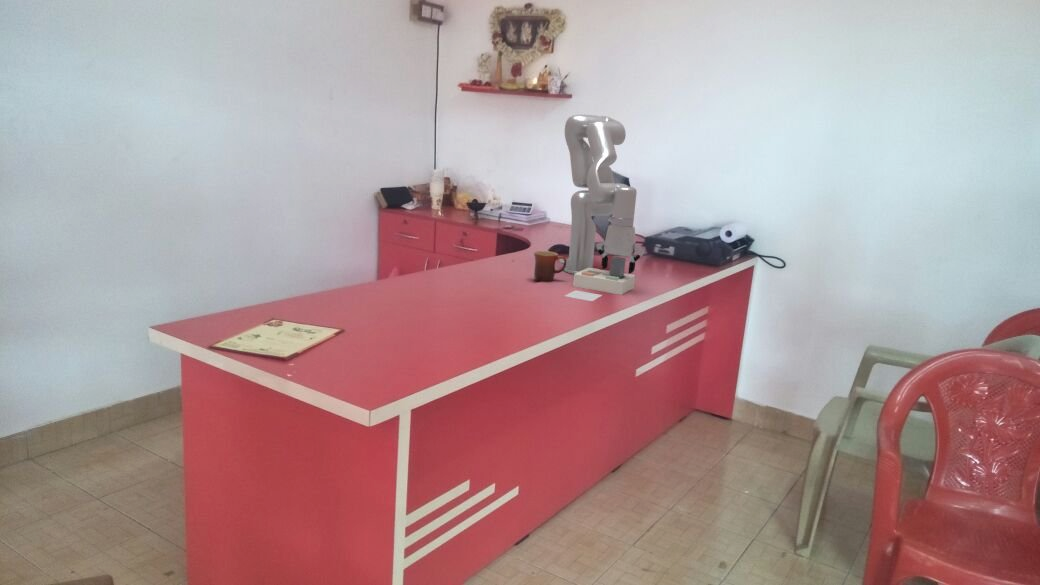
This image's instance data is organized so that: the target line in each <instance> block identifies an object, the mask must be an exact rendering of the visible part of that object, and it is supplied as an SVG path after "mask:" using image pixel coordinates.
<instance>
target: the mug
mask: <svg viewBox="0 0 1040 585" xmlns="http://www.w3.org/2000/svg"><path fill="white" fill-rule="evenodd" d="M533 256H534V261H535V262H534V272H533V275H534V276H533V278H534V281H535V282H538V283H540V282H541V283H544V282H545V283H547V282H553V281H554V280H555V276H556V274H559V273H562V272H563V271H564V269H565V267H566V259H567V258H566V257H565V256H564V255H563V256H562V255H559V254H558V253H557V252H555V251H548V250H536V251H534V252H533ZM559 259H563V260H564V264H562V265H563V266H562V267H561V268H560V269H556V261H559Z"/></svg>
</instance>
